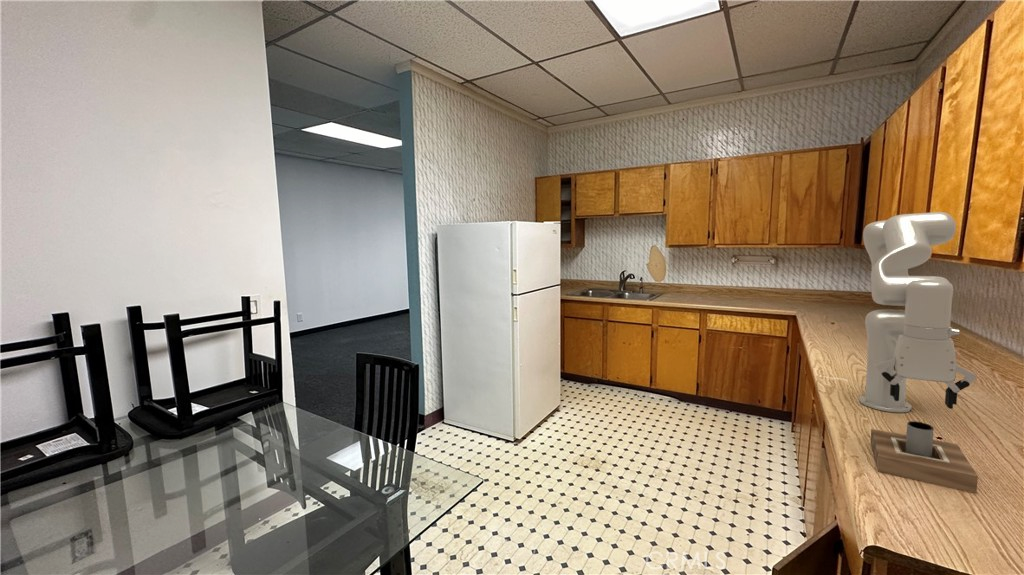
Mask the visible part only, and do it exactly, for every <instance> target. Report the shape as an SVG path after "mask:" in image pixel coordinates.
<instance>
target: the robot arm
mask: <svg viewBox="0 0 1024 575" xmlns="http://www.w3.org/2000/svg"><path fill="white" fill-rule="evenodd" d="M956 232H957V225H956V221H955V219H954V217H953V216H952V215H951V214H950V213H947V212H943V211H935V212H933V211H932V212H919V213H915V212H914V213H904V214H897V215H894V216H891V217H890V218H888V219H885V220H878V221H873V222H870V223H869V224H867V225H865V227H864V229H863V232H862V234H863V235H862V239H863V245H864V248H865V250H866V252H867V254H868V256H869V259H870V262H871V273H870V283H871V298H872V300H873V302H874V303H876V304H879V305H884V306H894V307H895V306H897V307H898V306H899V307H900V306H901V307H904V309H876V310H871V311H870V312H868V313H867V314H866V316H865V318H864V319H865V320H864V322H865V331H866V338H867V342H866V343H867V356H866V374H865V376H866V377H865V393H864V394H862V395H860V396H859V397H858V401H859V402H860V403H861V404H862V405H863V406H866V407H869V408H871V409H875V410H878V411H883V412H889V413H907V412H911V411H912V408H913V406H912V404H910V402H908V401H906V390H907V389H906V388H907V379H911V380H919V381H927V382H929V381H930V382H938V383H945V384H946V385H947V387H946V388H945V395H944V398H945V399H944V404H945V406H946V408H948V409H952V410H953V409H954V406H953V405H955V406H956V405H957V402H958V393H960V392H961V391H962V390H965V389H966V388H968V387H969V386H970V385H971V384H972V383H974V381H976V380H977V379H978V376H977V375H976V374H975V373H973V372H972V371H969V370H967V369H966V368H964V367H962V366H960V365H958V364H957V359H956V358H957V356H956V348H955V344H954V341H953V338H951V337H953V336H959V335H960V330H959V329H957V328H956V329H955V328H953V327H951V320H952V319H951V318H952V303H953V295H954V286H953V284H952V283H951V282H950V281H949V280H948V279H947V278H946V277H942V276H936V275H909V269H913V268H916V267H919V266H921V265H922V264H924V263H926V262H927V261H928V260H929V259H930V258H931V256H932V253H933V251H932V247H933V246H939V245H943V244H945V243H948V242H950V241H951V240H953V238H954V236H955V235H956ZM957 373H959V374H960V375H962V376H964V377H963V378H962V379H960V380H958V381H957V382H955V380H956V378H957ZM910 410H911V411H910Z"/></svg>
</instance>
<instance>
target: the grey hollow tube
mask: <svg viewBox="0 0 1024 575" xmlns="http://www.w3.org/2000/svg"><path fill="white" fill-rule="evenodd" d="M934 430H935V428H934V427H933V425H930V424H928V423H925V422H920V421H915V420H913V421H912V420H911V421H908V422H907V423H906V434H905V435H906V451H905V453H909V454H914V455H919V456H924V457H929V458H932V447H933V440H934V432H935V431H934Z"/></svg>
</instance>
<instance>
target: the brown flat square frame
mask: <svg viewBox="0 0 1024 575" xmlns="http://www.w3.org/2000/svg"><path fill="white" fill-rule="evenodd" d="M906 435H907V434H903V433H897V432H891V431H885V430H879V429H874V428H871V429H870V446H871V450H872V454H873V458H874V462H875V466H876V470H877V472H879V473H884V474H888V475H891V476H897V477H902V478H905V479H910V480H915V481H918V482H922V483H929V484H933V485H937V486H941V487H946V488H950V489H955V490H960V491H964V492H969V493H974V494H977V490H978V480H979V478H978V474H977V472H976V471H975V469H974V468H973V467H972V464H971V463H970V461H969V460H968V459H967V457H966V455H965V453H964V452H963V450H962V449H961V447H960V446H959V444H957V443H955V442H954V443H953V442H949V441H948V442H947V441H942V440H936V439H933V447H932V458H929V457H924V456H919V455H914V454H909V453H905V451H906Z"/></svg>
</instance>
